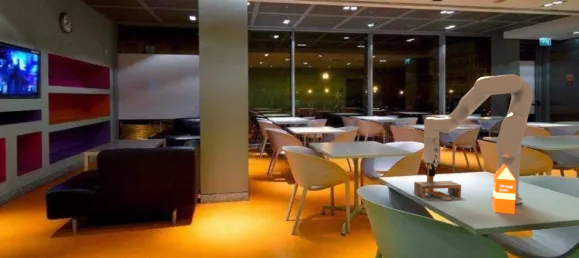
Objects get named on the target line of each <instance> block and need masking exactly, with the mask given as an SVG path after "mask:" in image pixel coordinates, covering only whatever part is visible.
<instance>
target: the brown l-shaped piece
mask: <svg viewBox="0 0 579 258" xmlns="http://www.w3.org/2000/svg"><path fill="white" fill-rule="evenodd" d="M429 169H430V163H429V164H427V175H426V182H429V181H434V177H429ZM426 193H427V194H430V195H432V196H433V197H436V198H438V199H441V196H449V194H447V193H444V192H442V191H440V190H439V189H426Z"/></svg>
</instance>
